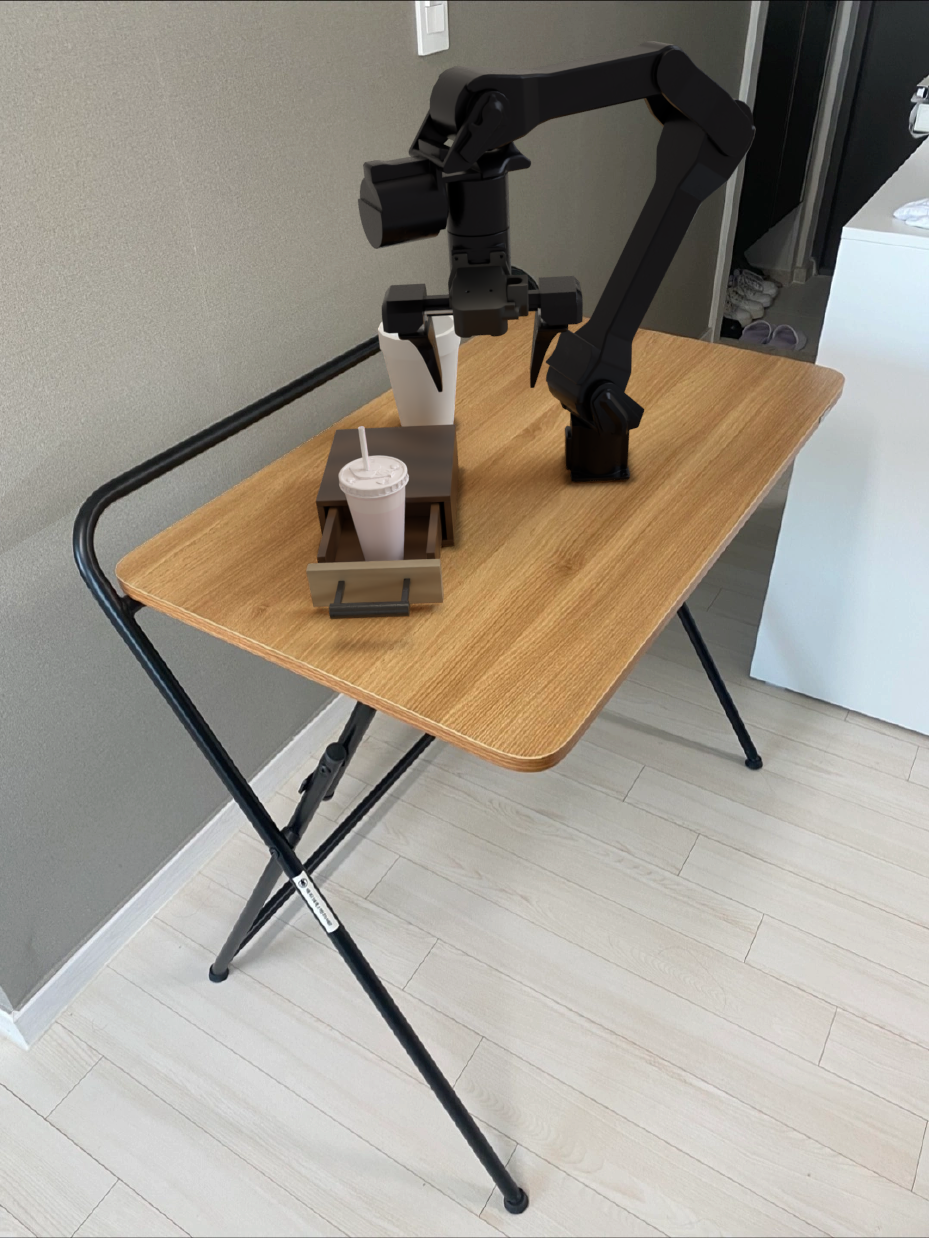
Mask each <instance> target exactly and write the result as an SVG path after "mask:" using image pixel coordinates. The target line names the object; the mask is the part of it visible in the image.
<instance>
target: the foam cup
mask: <svg viewBox="0 0 929 1238" xmlns="http://www.w3.org/2000/svg"><path fill="white" fill-rule="evenodd" d="M432 319H433V325H434V330H435V336H436V342H437V347H438V353H439V358H440V364H441V370H442V382H443V391H442V392H438V390H437V388H436V386H435V383H434V381H433V379H432V377H431V375H430V372H429V370H428V368H427V366H426V364H425V361H424V359H423V358H422V356H421V354H420V353H419V351H418V350H417V348H416V347H415V346H414V345H413V344H412V343H411V342H410V341H408V340H400V339H399V337H398V333H390V334H389V333H386V332H384V331H383V322H382V321H381V322H380V323H379V326H378V328H377V334H378V343H379V350H380V351H381V352H382V355H383V357H384V362H385V367H386V370H387V375H388V378H389V382H390V387H391V390H392V394H393V398H394V402H395V407H396V410H397V414H398V418H399V423H400V425H401V426H400V427H405V426H427V425H450V424H454V420H455V407H456V394H457V393H456V392H457V379H458V378H457V377H458V376H457V375H458V364H459V363H458V362H459V361H458V360H459V348H460V343H461V340H462V339H461V337H459V336H457V335H456V334H455V331H454V320H453V315H451V316H432Z"/></svg>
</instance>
